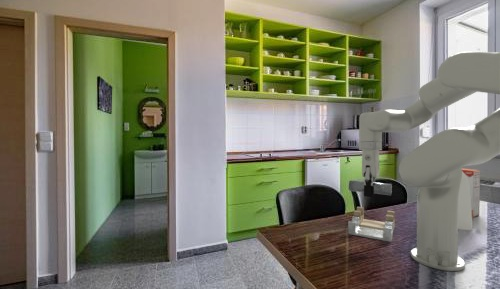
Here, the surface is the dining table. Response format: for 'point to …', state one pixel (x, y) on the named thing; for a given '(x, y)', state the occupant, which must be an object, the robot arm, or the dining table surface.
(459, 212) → the milk
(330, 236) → the dining table surface
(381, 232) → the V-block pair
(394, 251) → the dining table surface
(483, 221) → the dining table surface
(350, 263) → the dining table surface
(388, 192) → the steel axle
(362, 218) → the bearing cradle
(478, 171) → the cracker box
